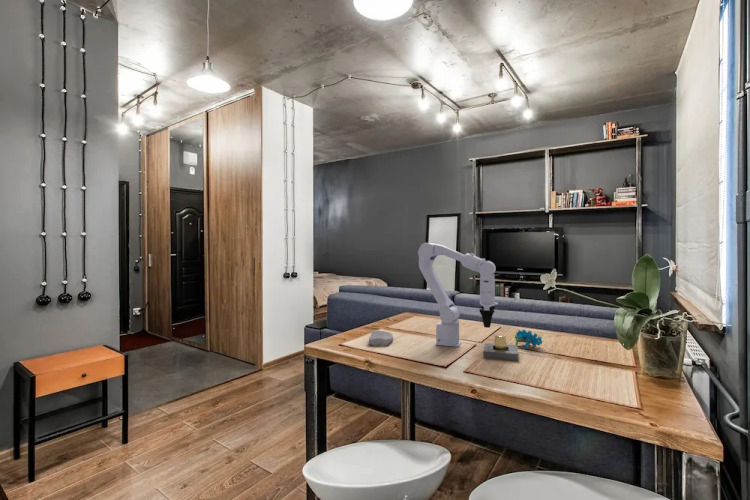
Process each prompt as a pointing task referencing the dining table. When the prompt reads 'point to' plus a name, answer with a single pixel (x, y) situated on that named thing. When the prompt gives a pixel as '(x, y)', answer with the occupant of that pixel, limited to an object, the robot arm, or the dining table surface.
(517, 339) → the blue toy dinosaur
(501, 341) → the brass sleeve
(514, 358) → the block
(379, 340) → the stone block
